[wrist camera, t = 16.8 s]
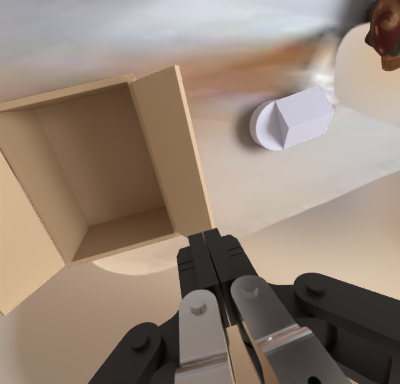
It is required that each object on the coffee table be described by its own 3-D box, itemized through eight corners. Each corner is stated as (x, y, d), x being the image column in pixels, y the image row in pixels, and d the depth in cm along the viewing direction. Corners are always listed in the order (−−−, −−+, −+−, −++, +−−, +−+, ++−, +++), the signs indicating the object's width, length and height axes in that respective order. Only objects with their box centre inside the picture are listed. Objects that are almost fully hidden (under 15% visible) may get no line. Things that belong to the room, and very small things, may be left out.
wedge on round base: (308, 85, 45) (244, 108, 44) (332, 83, 39) (258, 110, 38) (313, 131, 48) (254, 153, 48) (336, 136, 42) (269, 161, 42)
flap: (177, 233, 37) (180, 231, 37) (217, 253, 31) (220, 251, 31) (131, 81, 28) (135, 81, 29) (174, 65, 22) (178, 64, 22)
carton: (28, 105, 38) (-24, 108, 27) (138, 79, 40) (131, 72, 29) (88, 228, 48) (67, 267, 37) (174, 204, 49) (180, 235, 38)
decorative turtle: (400, -37, 40) (457, -63, 33) (397, 59, 47) (444, 55, 40) (350, -14, 39) (397, -36, 32) (355, 79, 46) (395, 78, 39)
